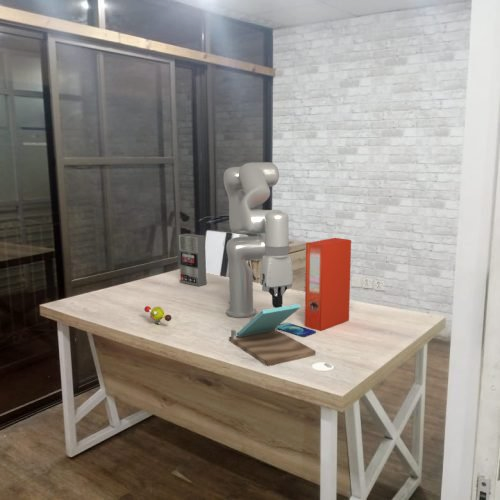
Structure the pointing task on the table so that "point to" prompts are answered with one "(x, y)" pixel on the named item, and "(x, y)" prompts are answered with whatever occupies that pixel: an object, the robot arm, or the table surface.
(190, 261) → the cassette tape recorder
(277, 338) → the press base
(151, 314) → the molecule model
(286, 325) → the smartphone
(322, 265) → the file binder
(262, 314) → the plate
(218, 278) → the table surface
